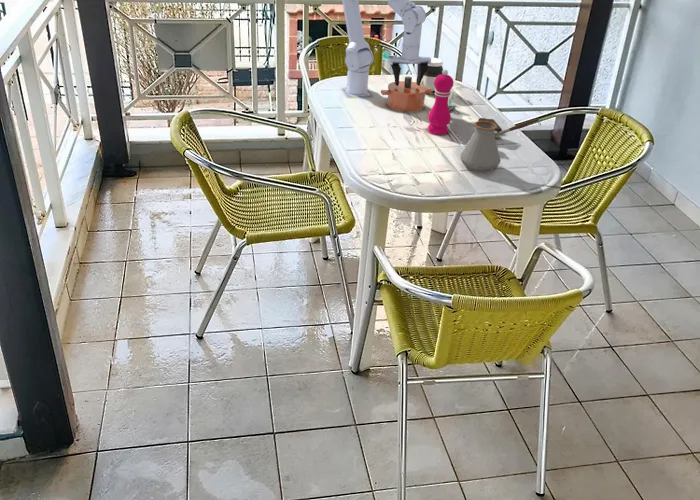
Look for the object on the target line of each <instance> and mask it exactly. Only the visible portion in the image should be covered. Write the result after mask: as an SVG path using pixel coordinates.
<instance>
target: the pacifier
mask: <svg viewBox="0 0 700 500" xmlns="http://www.w3.org/2000/svg"><path fill="white" fill-rule="evenodd" d="M454 97H455V92H454V91H453V90H451V93H450V96H449V98H448V108H449V111H452V109H453V108H457V107H458V105H455V104H454V103H453V101H452V100H453V99H454Z"/></svg>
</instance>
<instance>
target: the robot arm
mask: <svg viewBox="0 0 700 500" xmlns="http://www.w3.org/2000/svg"><path fill="white" fill-rule="evenodd" d="M341 2H342V8H343V14H344V19H345V20H344V21H345V25H346V32H347V38H348V45H347V46H346V48H345V59H344V60H345V61H344V63H345V66H346V67H347V73H346V77H347V78H346V87H343V89H344V90H345V92H346V94H347V96H349V97H359V96H360V97H361V96H363V97H364V96H365V97H366V96H371V93H370V92H369V90H368V89H369V73H370V68H371V67H370V66H371V65H372V64H373V63H374V53H373V52H372V50H371V48H370V47H371V46H370V43H368V42H367V41H366V39H365V34H364V33H365V32H364V28H363V21H362V16H361V15H362V14H361V9H360V3H359V0H341ZM387 5H388V7H390V9H392V10H393V11H394V12H395V13H396V14H397V15H398V16H399V17H400V18H401V22H402V25H403V38H402V49H401V50H402V51H401V56H393V57H388V62H387V63H388V65H390V67H391V70H392V72H393V77H394V82H395V85H396V86H399V81H400V74H401V70H402V67H401V65H417V73H416V80H415V82H416V84H417V85H420V83H421V80H422V78H423V76H424V74H425V72H426V71H427V69H428V64H431V58H432V57H430V56H420V49H421V40H422V39H421V38H422V29H423V23H425V21H426V19H427V13H426V11H425V9H424V7H423V6H421V5H416V3H415V2H414V1H411V0H387Z"/></svg>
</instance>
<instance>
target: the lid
mask: <svg viewBox="0 0 700 500" xmlns="http://www.w3.org/2000/svg"><path fill="white" fill-rule="evenodd" d="M412 80H413V77H412V76H407V75H406V76H404V80H399V86H396V85H395V81H392V82H389V83H388V84H387V90H390V91H392V92H395V93H398V94H404V95H419V94H423V93H425V92H426V91H427V87H426V86H424V85H422V84H420V85H417V84H416V81H412Z"/></svg>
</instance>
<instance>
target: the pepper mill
mask: <svg viewBox="0 0 700 500" xmlns="http://www.w3.org/2000/svg"><path fill="white" fill-rule="evenodd" d="M434 86H435V88H436V89H435V93H434V94H433V95H435V98H434V99H435V100H434V103H433V106H432V107H431V109H430V111H429V112H428V116H427V120H428V123H429V124H428V126H427V127H428V128H427V131H428V132H429V133H430V134H433V135H438V136H442V135H446V134H447V133H448V131H449V126H448V125H449V124H450V123H451V120H452V119H451V116H452V115H451V110H449V108H448V98H449V96H450V93H451V91H452V88H453V87H454V79H453V77H452V76H451V75H449V70H448V69H443V71H442V74H441V75H438V76H437V77H436V78H435V81H434ZM450 89H451V91H450Z"/></svg>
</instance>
